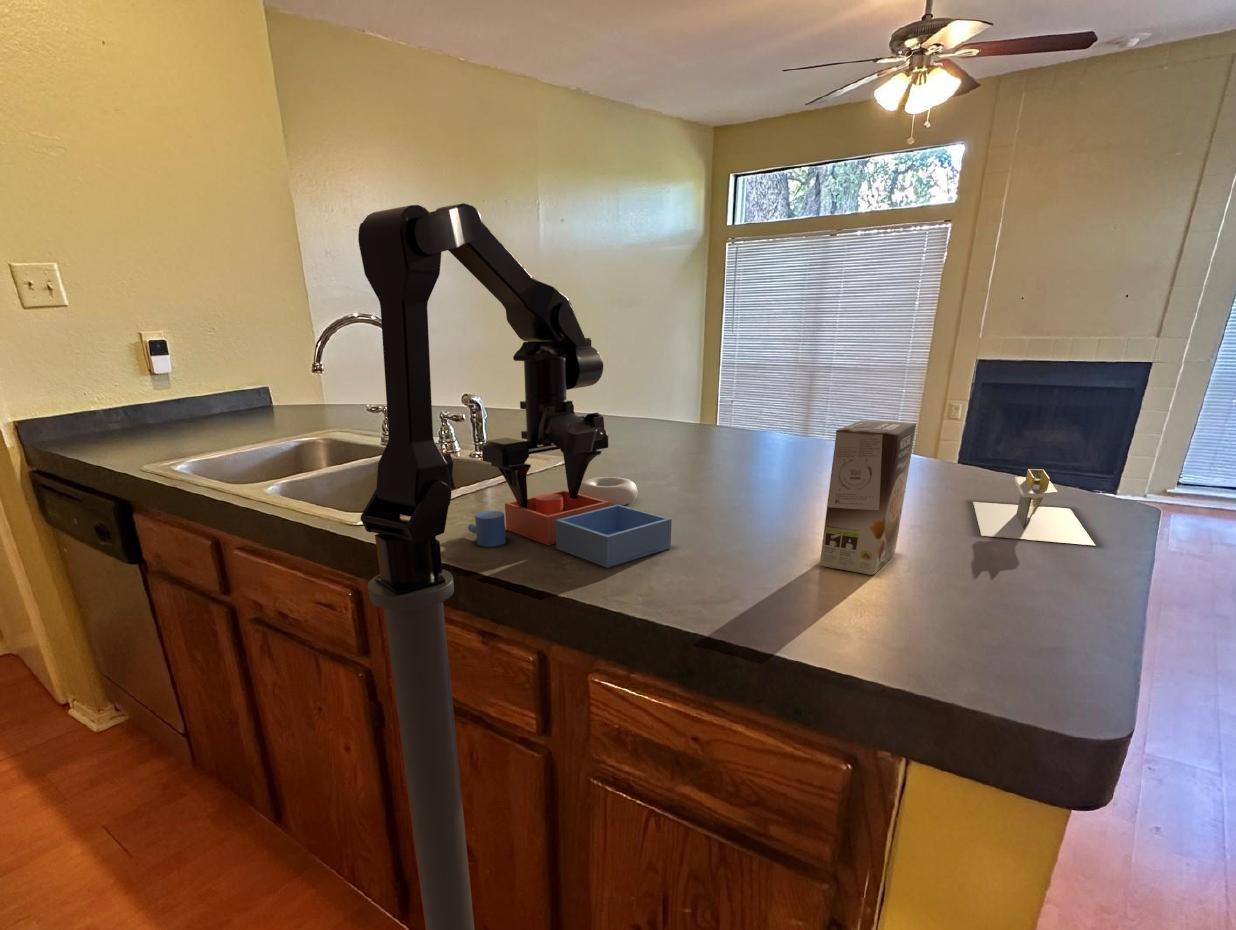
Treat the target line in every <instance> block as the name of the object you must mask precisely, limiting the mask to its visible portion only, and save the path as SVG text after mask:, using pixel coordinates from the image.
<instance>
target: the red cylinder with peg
mask: <svg viewBox="0 0 1236 930" xmlns="http://www.w3.org/2000/svg"><path fill="white" fill-rule="evenodd" d="M535 496H536V498H535V500H536V512H538V513H541V514H544V515H547V516H548V515H552V514H556V513H561V512H563V496H562V495H559V494H549V493H544V494H542V493H541V494H538V495H535Z"/></svg>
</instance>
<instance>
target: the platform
mask: <svg viewBox="0 0 1236 930" xmlns="http://www.w3.org/2000/svg"><path fill="white" fill-rule="evenodd" d="M1014 483H1015V485H1016V487H1017V489H1018V491H1019V493H1020V496H1019V500H1018V503H1017V504H1011V503H1008V504H1007V503H995V502H994V503H993V502H979V501H972V503H973V507H974V511H975V515H976V520H977V523H978V528H979V531H980V536H982V537H993V538H995V537H996V538H1005V539H1015V540H1016V539H1017V540H1027V541H1028V540H1029V541H1038V542H1039V541H1040V542H1051V543H1060V544H1061V543H1063V544H1064V543H1065V544H1075V545H1083V546H1087V545H1088V546H1097V545H1096V544H1095V543H1094V541H1093V539H1092V538H1091V537H1090V535H1089V534H1088V533H1087V531H1086V529H1085V528H1084V527H1083V525H1082V523H1081V522H1080V521H1079V519H1078V518H1077V517H1076V515H1075V514H1074V512H1073V511H1072V509H1071V508H1068V507H1067V508H1065V507H1054V506H1053V507H1051V506H1040V505H1041V503H1042V501H1043V499H1044V498H1050V497H1057V494H1058V490H1057V489H1056V487H1055V486H1054V485H1053V483H1052V482H1051V481H1050V476H1049V475H1048V474H1047V472H1046V471H1045V470H1044V469H1033V468H1028V469H1027V472H1026V476H1015V477H1014ZM1035 485H1038V487H1039V488H1038V489H1037V488H1034V486H1035Z"/></svg>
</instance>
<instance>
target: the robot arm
mask: <svg viewBox="0 0 1236 930" xmlns="http://www.w3.org/2000/svg"><path fill="white" fill-rule="evenodd" d="M357 239H358V240H357V241H358V247H359V252H360V257H361V263H362V266H363V272H364V275H365V277H366V279H367V281H368V283H369V285H370V287H371V288H372V290H373V292H374V294H375V295H376V298H377V299H378V302H379V306H380V320H381V334H382V335H381V336H382V338H381V339H382V350H383V351H382V353H383V367H384V368H383V369H384V383H385V398H386V411H387V412H386V414H387V431H388V440H387V443H386V445H385V447H384V450H383V452H382V454H381V456H380V458H379V461H378V463H377V473H376V476H377V477H376V488H375V490H374V492H373V494H372V495H371V497H370V498H369V500H368V502H367V504H366V506H365V508H364V510H363V512H362V513H361V515H360V521H361V523H362V525H363V527H364V530H365V531H366V532H367V533H374V538H375V546H376V555H377V562H378V569H379V575H380V576H378V575H376V576H374V577H375V581H376V582H378V583H379V584H381V585H382V586H384V587H385V588H387V589H388V590H390V591H391V592H393V593H394V594H396V595H402V594H406V593H409V592H413V591H416V590H420V589H423V588H427V587H430V586H434V585H438V584H441V583H445V582H446V577H444V576H442V575H440V573H442V569H443V563H442V561H443V560H442V551H441V542H440V540H439V539H437V537H438V536H440V535H442V534H444V533H445V530H446V526H447V525H446V524H447V518H448V511H449V507H450V506H451V505H450V504H451V502H452V501H451V500H452V490H455V489H456V485H455V483H454V477H453V473H454V469H453V468H454V459H453V456H452V453H449V452H448V453H447V452H441V450H440V449H439V447H438V445H437V443H436V441H435V439H434V425H433V406H432V405H433V404H432V403H433V402H432V382H431V359H430V337H429V335H430V334H429V315H428V314H429V312H428V303H429V299H430V297H431V295H432V292H433V290H434V289H435V287H436V284H437V281H438V279H439V277H440V274H441V265H442V264H441V262H442V253H443V252H447V251H448V252H449V253H450V254H451V255H453V257H454V258H455V259H456V260H457V261H458V262H459V263H460V264H461V265H462V266H463V267H464V268H465V269H466V270H467V271H468V272H469V273H470V274H472V276H473V277H474V278H475V279H476V280H477V281H478V282H479V283H480V284H481V285H483V287H484V288H485V289H487V291H488V292H489V293H491V295H493V297H495V299H497V300H498V302H500V304H501V305H502V306H503V308H504V310H505V317H506V318H505V319H506V321H507V323H508V324H509V326H510V327H511V329H512V330H513V331H514V333H515V334H516V335H517V337H518V338H519V339H520V340H522V341H523V342H522V345H521V346H520V348H519V349H518V350H517V351H516V352H515V353H514V354H513V357H512V359H513V361H514V362H523V372H524V373H523V374H524V376H523V377H524V400H522V401H521V400H520V401H519V409H520V410H525V427H526V430H522V431H521V432H520V433H521V439H524V440H521V439H516V438H510V437H502V438H495V439H488V440H485V442H484V444H483V445H482V448H481V457H482V462H486V463H490V466H492V467H495V468H498V470H499V472H500V474H501V475H502V476H503V478H504V479H505V482H506V483H507V486H508V487H509V488H510V491H511V493H512V495H513V496H514V498H515V499H514V500H515V501H517V503H518V505H519V506H520V507H523V508H526V509H527V501H528V500H527V498H528V481H527V480H528V479H527V474H528V472H529V471H530V469H531V467H532V464H529V463H526V462H527V460H528V459H529V457H530V455H533V454H539V453H544V452H550V451H556V450H560V452H561V453H562V455H563V463H564V469H565V477H566V486H567V491H569V495H570V498H572V499H576V498H577V495H578V492H579V489H580V486H581V483H582V482H583V481H584V477H585V474H586V471H587V469H588V466H589V464H590V463H591V462H592V461H593V460H594V459H595V458H596V457H597V456H600V455H601V454H602V453H603V451H602V450H605V449H608V448H609V444H610V443H609V442H610V441H609V438H610V437H609V434H608V432H607V430H606V428H605V417H604V415H602V414H601V413H600V412H592V413H587V414H585V415H580V416H579V415H576V413H575V405H574V404H573V400H568V397H567V391H569V390H574V389H575V390H576V389H580V388H587V387H591V386H594V385H596V384H597V383H598V382H599V380H600V379H601V377H602V376H603V373H604V361H603V359H602V356H601V354H600V352H599V351H598V350H597V349H596V348H594V347H593V346H592V338H591V337H585V334H584V332H583V330H582V327H581V325H580V323H579V320H578V318H577V316H576V313H575V311H574V308H573V306H572V303H571V302H570V299H569V298H568V297H567V296H566V295H565V294H563V293H562V292H561V291H560V290H558V289H557V288H556V287H554V286H552V285H549V284H547V283H544V282H542V281H539V280H537V279H536V278H535V277H533V276H532V275H531V274H530V272H528V271H527V270H526V268H524V266H523V265H522V264H521V263H520V262H519V260H517V258H515V256H514V254H512V252H510V251H509V250H508V248H506V246H505V245H504V244H503V243H502V241H500V240H499V238H498V237H497V236H496V235H495V234H494V233H493V232H492V230H491V229H490V228H489V227H488V226H487V225H486V224H485V223H484V221H483V220H482V217H481V214H480V211H478V209H477V208H476V207H475V206H473V205H471V204H468V203H465V202H463V203H458V204H457V203H456V204H451V205H447V206H440V207H438V208H436V209H435V210H433V211H429V210H428V209H427V208H426V207H424V206H422V205H419V204H410V205H406V206H399V207H394V208H389V209H383V210H378V211H373V212H371V213H369V214H367V215H366V217H365V218H364V219H363V220H362V222H360V224H359V228H358V237H357ZM401 516H405V517H408V518H409V517H410V518H409V519H405V518H401Z"/></svg>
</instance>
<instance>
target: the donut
mask: <svg viewBox="0 0 1236 930" xmlns="http://www.w3.org/2000/svg"><path fill="white" fill-rule="evenodd" d="M638 493H639V492H638V487H637V485H636V483H635V482H634V481H632V480H631V479H628V478H623V477H618V476H601V477H600V476H599V477H592V478H589V479H586V480H582V483H581V486H580V489H579V492H578V494H582V495H585V496H589V497H593V498H596V499H600V500H604V501H607V502H609V507H610V506H614V505H622V506H626V505H629V504H631V503H632V502H633V501H634V500H635V499H636V498H637V496H638Z"/></svg>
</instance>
